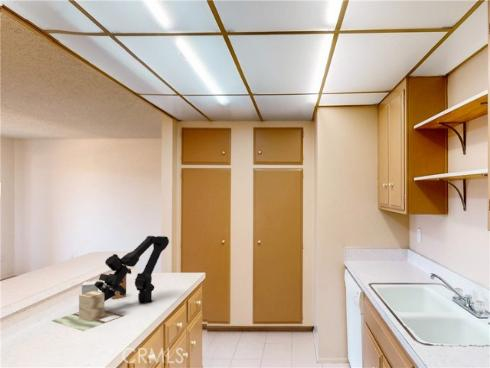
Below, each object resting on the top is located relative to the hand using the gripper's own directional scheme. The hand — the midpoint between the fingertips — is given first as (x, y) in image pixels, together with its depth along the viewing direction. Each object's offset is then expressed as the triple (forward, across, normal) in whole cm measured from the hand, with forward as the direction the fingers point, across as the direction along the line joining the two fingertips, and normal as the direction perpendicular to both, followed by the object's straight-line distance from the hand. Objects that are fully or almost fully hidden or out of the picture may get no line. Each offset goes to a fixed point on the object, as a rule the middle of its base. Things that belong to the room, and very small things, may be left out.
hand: (99, 303), depth 169 cm
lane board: (+9, 0, +1) cm, 9 cm away
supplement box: (-1, -21, +11) cm, 24 cm away
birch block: (+7, 0, +1) cm, 7 cm away
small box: (-15, -22, +24) cm, 36 cm away
